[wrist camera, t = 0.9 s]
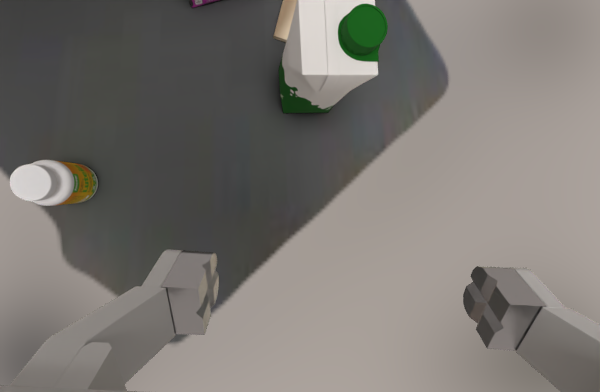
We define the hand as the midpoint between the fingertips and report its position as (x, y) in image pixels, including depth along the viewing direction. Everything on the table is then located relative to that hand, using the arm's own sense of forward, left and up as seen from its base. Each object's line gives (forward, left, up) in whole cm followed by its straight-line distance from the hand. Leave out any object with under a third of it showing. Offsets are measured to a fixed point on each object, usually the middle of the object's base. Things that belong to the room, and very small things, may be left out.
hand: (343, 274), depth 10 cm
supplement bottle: (-26, -4, -39) cm, 47 cm away
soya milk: (+1, +18, -39) cm, 43 cm away
